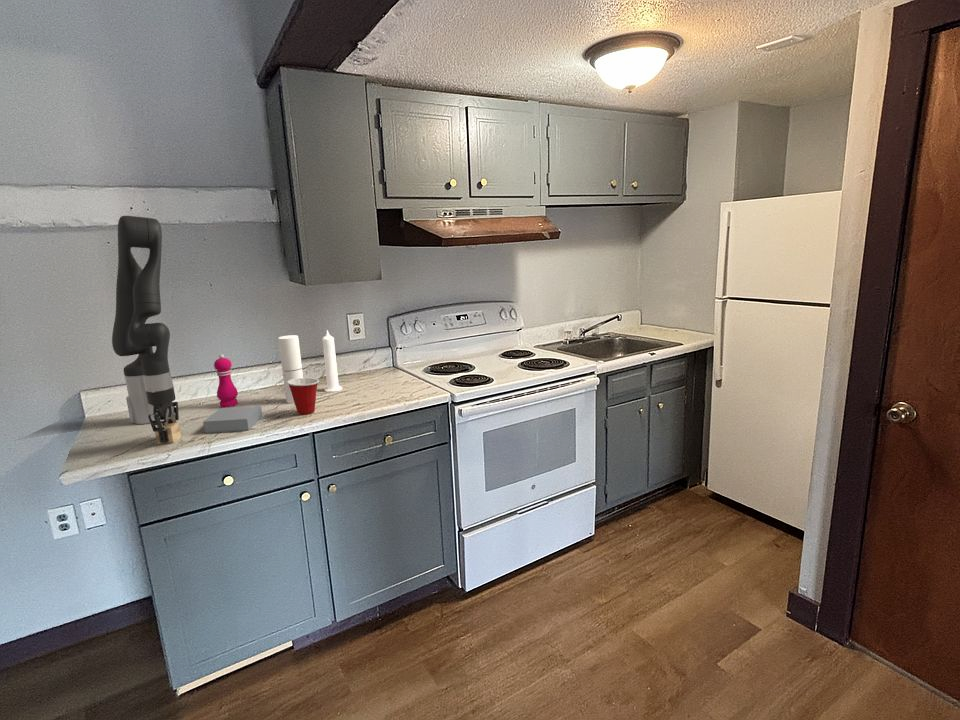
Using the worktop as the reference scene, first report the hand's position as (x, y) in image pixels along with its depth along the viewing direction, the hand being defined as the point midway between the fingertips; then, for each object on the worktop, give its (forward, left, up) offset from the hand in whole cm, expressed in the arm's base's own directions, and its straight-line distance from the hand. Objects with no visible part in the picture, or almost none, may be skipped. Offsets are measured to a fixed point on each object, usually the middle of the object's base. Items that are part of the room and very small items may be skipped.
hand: (169, 438), depth 169 cm
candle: (+42, +49, -1) cm, 65 cm away
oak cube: (0, 0, -1) cm, 1 cm away
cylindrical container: (+30, +37, -1) cm, 48 cm away
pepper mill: (+5, +36, -1) cm, 36 cm away
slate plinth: (+16, +12, -1) cm, 20 cm away
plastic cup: (+38, +21, -1) cm, 43 cm away
